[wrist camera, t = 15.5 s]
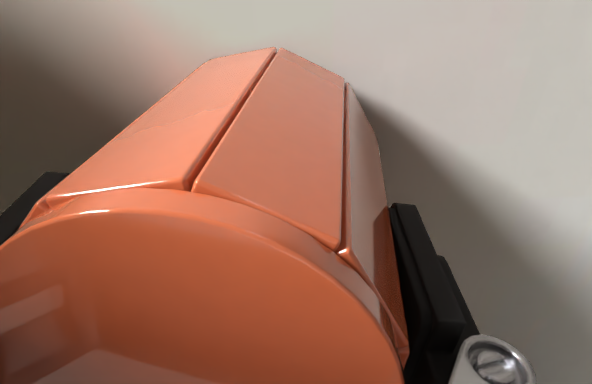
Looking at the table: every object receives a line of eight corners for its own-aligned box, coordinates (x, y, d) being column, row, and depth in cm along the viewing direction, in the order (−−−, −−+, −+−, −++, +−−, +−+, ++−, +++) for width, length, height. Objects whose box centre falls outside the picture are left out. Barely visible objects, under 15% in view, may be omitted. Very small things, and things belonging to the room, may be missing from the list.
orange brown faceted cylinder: (132, 74, 14) (-146, 242, 6) (363, 28, 12) (391, 171, 5) (201, 249, 17) (82, 499, 9) (388, 229, 16) (428, 505, 8)
